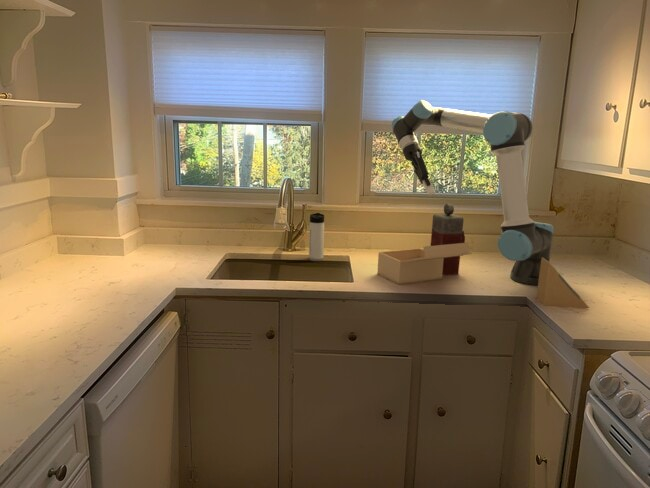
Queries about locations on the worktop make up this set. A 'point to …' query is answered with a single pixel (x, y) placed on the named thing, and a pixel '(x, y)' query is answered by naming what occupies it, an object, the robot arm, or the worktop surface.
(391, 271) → the mailer box
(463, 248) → the mailer lid
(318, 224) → the travel mug
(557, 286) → the sandwich container
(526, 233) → the robot arm
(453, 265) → the red grinder
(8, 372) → the worktop surface
